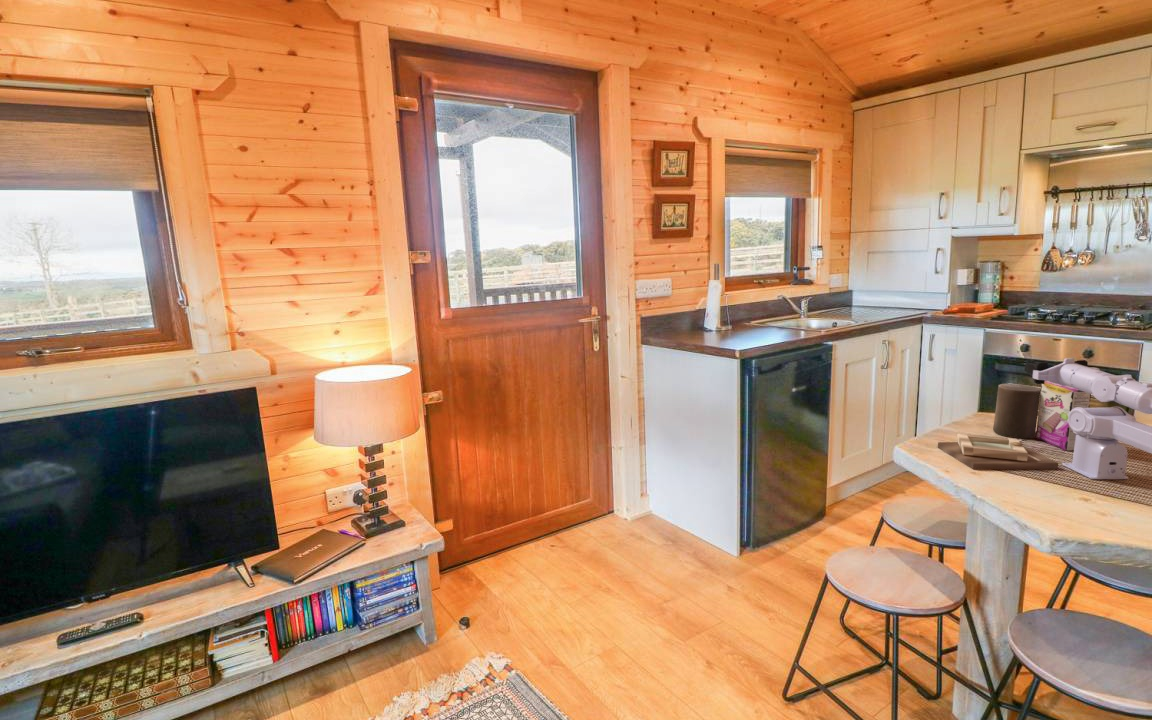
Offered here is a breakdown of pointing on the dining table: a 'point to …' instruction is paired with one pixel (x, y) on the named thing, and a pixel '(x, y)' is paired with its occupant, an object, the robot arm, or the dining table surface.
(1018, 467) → the walnut board
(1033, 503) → the dining table surface
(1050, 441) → the candy bar box
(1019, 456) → the cabinet door with knob
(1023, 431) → the pillar candle
